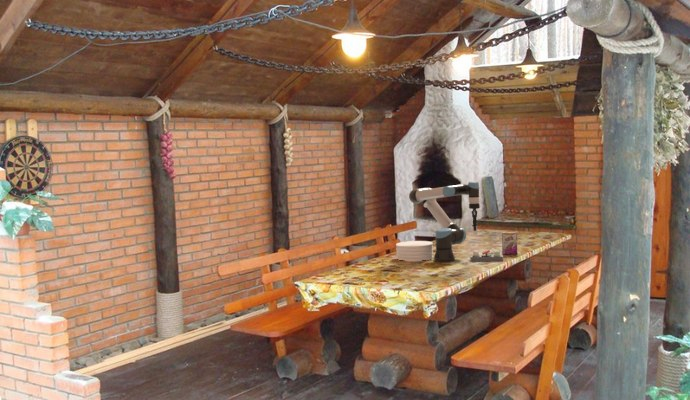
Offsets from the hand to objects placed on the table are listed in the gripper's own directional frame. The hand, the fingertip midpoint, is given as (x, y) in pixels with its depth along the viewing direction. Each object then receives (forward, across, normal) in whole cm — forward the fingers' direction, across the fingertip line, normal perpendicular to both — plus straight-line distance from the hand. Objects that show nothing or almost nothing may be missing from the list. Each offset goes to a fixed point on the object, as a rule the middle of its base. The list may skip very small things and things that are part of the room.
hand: (475, 234), depth 492 cm
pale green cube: (+17, 0, -15) cm, 22 cm away
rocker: (+14, 0, -8) cm, 16 cm away
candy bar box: (+19, +27, -25) cm, 42 cm away
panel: (+19, 0, -8) cm, 21 cm away
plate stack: (+20, +13, +46) cm, 52 cm away
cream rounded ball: (+17, 0, 0) cm, 17 cm away
